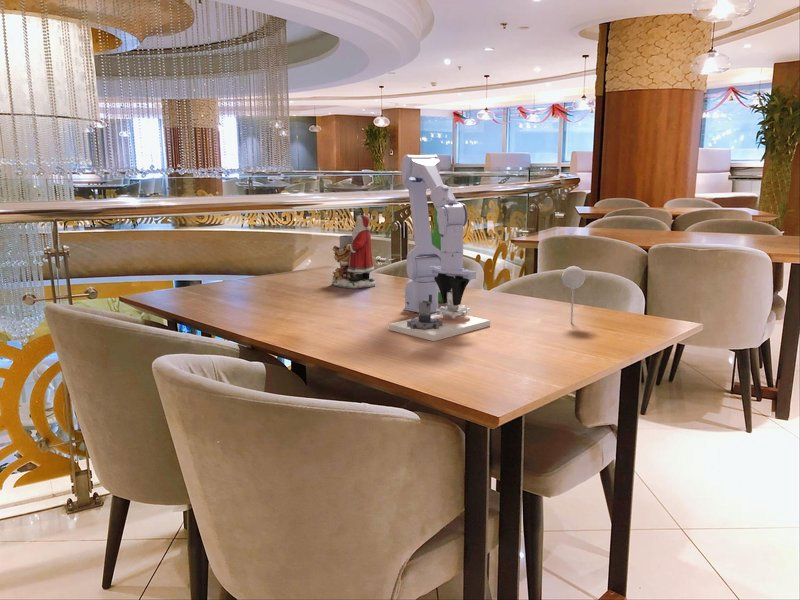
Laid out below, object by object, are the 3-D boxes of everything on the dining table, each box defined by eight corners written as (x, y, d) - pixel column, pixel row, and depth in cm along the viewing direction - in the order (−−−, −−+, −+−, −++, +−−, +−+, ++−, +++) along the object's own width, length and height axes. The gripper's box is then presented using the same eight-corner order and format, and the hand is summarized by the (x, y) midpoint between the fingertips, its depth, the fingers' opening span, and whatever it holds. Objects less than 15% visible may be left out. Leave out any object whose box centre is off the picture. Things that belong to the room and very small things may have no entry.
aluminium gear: (429, 314, 170) (428, 292, 168) (452, 307, 175) (451, 285, 174) (453, 320, 163) (452, 297, 162) (477, 312, 169) (476, 290, 167)
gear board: (388, 329, 165) (388, 323, 165) (444, 316, 179) (444, 310, 179) (433, 341, 154) (433, 334, 153) (490, 325, 168) (490, 319, 167)
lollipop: (566, 326, 166) (568, 268, 163) (555, 321, 172) (557, 265, 169) (587, 324, 168) (590, 267, 165) (576, 319, 174) (578, 264, 171)
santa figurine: (325, 283, 233) (323, 213, 228) (360, 279, 240) (360, 212, 234) (343, 291, 219) (342, 217, 213) (381, 287, 225) (380, 215, 220)
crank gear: (399, 325, 163) (399, 293, 161) (424, 320, 168) (424, 289, 167) (424, 332, 156) (424, 298, 155) (449, 325, 162) (449, 293, 161)
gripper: (420, 250, 168) (421, 302, 171) (462, 255, 158) (462, 310, 160) (439, 248, 173) (439, 298, 176) (481, 253, 162) (480, 306, 165)
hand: (451, 303), depth 168 cm, fingers closed on aluminium gear, 3 cm apart
